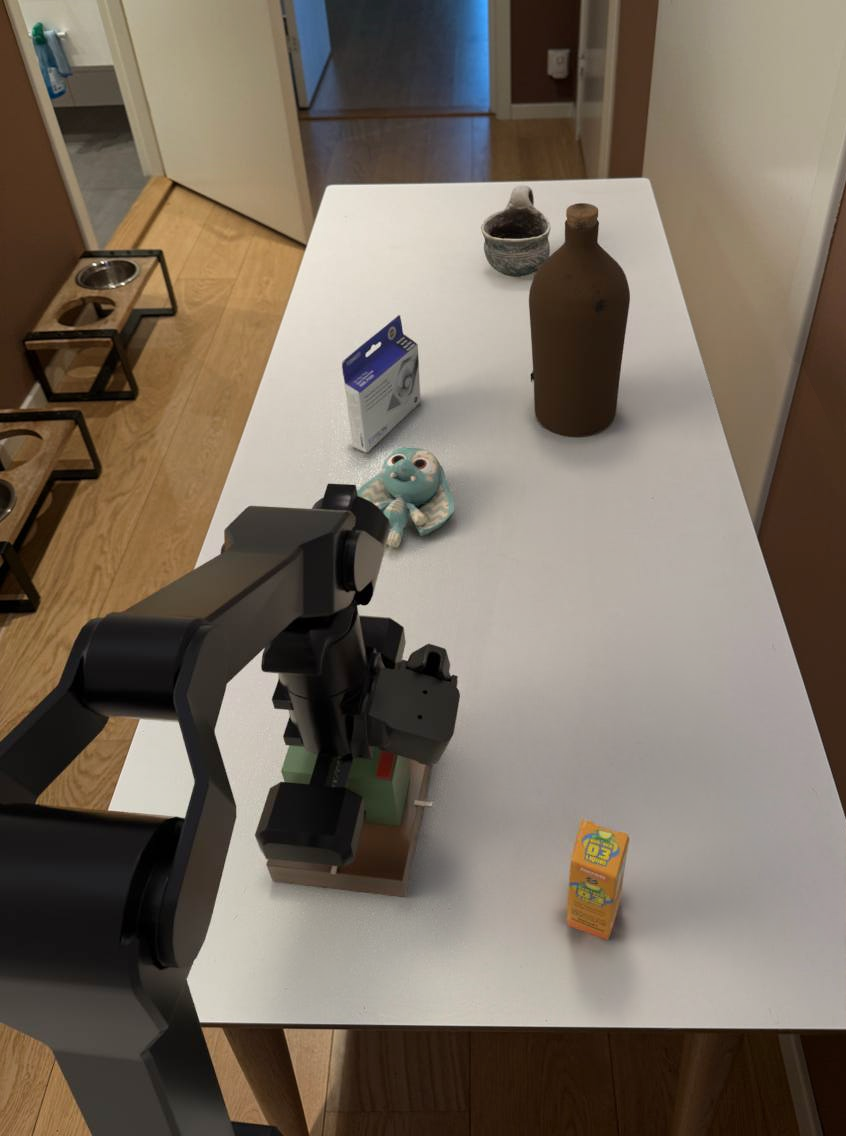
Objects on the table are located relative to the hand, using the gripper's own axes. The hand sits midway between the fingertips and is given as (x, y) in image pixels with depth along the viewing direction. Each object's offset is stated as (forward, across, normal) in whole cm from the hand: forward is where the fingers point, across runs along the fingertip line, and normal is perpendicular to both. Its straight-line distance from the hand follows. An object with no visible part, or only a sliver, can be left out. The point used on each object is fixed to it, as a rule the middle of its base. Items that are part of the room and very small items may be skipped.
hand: (353, 793), depth 72 cm
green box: (0, 0, 0) cm, 0 cm away
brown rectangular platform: (+3, 0, 0) cm, 3 cm away
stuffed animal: (+3, +34, +2) cm, 34 cm away
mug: (+3, +88, -4) cm, 88 cm away
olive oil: (+3, +53, -14) cm, 55 cm away
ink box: (+3, +49, +7) cm, 49 cm away
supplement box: (+3, -6, -18) cm, 19 cm away
